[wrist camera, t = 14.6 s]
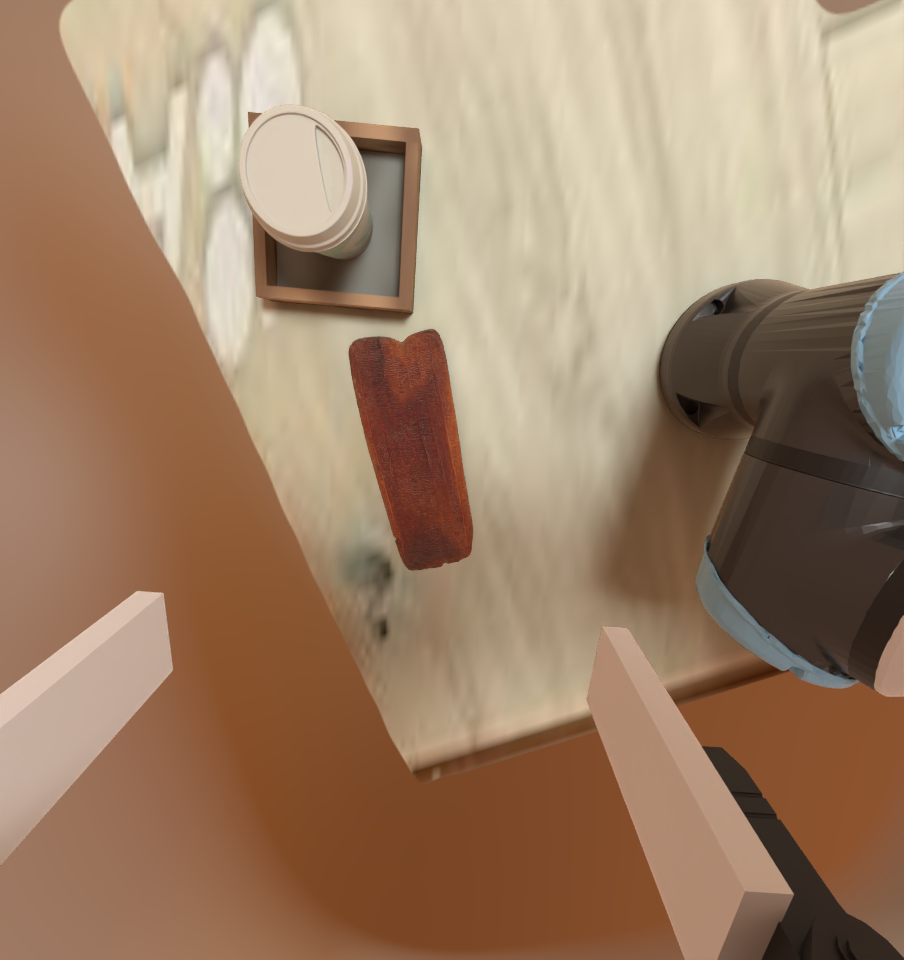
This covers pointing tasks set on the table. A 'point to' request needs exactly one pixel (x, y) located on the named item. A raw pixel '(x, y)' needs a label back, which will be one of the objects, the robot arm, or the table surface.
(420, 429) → the wooden tablet
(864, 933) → the robot arm
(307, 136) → the coffee cup
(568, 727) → the table surface
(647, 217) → the table surface
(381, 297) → the wood rimmed frame
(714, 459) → the table surface
